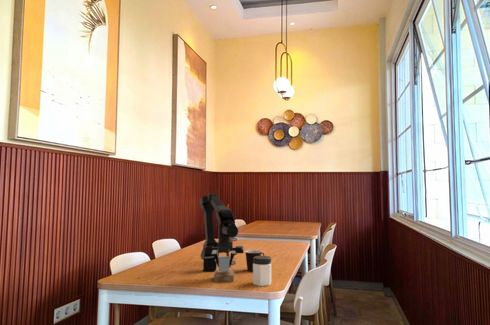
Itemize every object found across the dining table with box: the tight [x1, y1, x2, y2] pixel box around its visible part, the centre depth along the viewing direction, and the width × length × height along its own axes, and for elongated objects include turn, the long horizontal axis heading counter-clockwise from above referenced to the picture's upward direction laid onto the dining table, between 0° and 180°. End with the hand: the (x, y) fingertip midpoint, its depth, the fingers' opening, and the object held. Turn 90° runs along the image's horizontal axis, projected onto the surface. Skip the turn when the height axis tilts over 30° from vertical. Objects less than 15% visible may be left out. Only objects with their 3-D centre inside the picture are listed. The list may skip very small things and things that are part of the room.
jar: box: [252, 255, 272, 287], centre depth 164 cm, size 9×8×12 cm
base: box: [213, 270, 235, 283], centre depth 172 cm, size 9×9×3 cm
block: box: [218, 255, 231, 271], centre depth 172 cm, size 5×5×6 cm
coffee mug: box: [244, 249, 265, 273], centre depth 191 cm, size 12×9×10 cm
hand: (224, 267), depth 172 cm, fingers closed on block, 5 cm apart
